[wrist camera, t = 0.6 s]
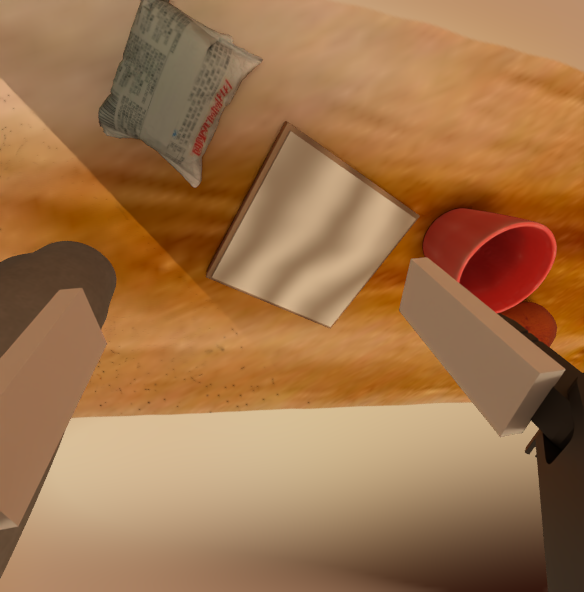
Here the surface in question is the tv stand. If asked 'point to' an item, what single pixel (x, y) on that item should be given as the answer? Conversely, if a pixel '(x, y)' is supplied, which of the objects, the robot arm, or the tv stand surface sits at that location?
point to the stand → (309, 231)
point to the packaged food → (174, 85)
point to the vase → (30, 302)
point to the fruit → (534, 320)
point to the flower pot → (491, 254)
